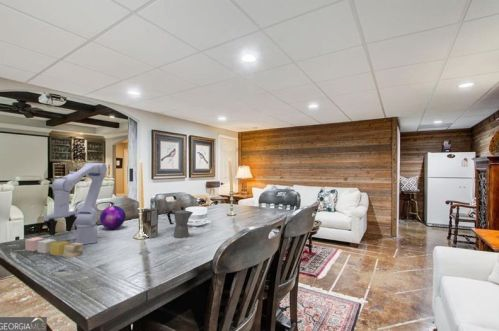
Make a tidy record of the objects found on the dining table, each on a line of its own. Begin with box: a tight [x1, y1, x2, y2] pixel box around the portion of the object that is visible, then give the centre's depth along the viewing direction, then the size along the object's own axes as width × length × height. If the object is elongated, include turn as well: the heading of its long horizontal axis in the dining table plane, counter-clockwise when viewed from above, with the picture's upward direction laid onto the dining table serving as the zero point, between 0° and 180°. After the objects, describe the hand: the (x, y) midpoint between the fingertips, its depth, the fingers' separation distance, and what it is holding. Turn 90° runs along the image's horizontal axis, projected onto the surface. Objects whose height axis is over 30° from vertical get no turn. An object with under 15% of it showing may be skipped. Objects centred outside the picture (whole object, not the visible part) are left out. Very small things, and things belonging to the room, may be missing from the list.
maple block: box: [63, 242, 84, 259], centre depth 116 cm, size 5×5×5 cm
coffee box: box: [138, 208, 159, 239], centre depth 151 cm, size 9×6×16 cm
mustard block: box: [49, 240, 70, 256], centre depth 118 cm, size 5×5×5 cm
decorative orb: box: [99, 205, 127, 230], centre depth 166 cm, size 15×15×15 cm
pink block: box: [24, 236, 45, 252], centre depth 122 cm, size 5×5×5 cm
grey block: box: [36, 238, 58, 254], centre depth 120 cm, size 5×5×5 cm
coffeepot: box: [166, 206, 194, 239], centre depth 153 cm, size 15×9×18 cm, turn 103°
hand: (60, 233), depth 118 cm, fingers open, 7 cm apart
